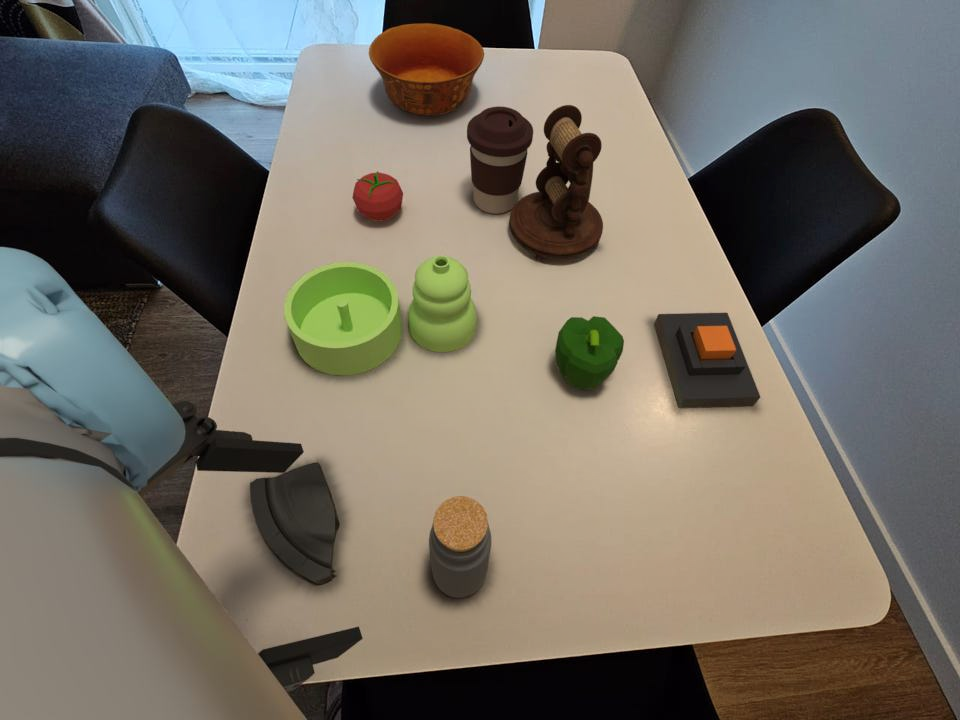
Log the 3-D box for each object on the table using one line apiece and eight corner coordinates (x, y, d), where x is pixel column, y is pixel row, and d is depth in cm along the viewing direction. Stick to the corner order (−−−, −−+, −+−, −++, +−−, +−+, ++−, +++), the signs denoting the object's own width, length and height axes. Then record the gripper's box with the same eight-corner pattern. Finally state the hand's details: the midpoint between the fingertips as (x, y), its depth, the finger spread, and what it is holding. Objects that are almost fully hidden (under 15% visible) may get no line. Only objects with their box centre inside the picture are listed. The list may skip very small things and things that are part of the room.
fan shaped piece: (275, 604, 58) (270, 600, 57) (250, 488, 65) (246, 482, 64) (354, 571, 60) (351, 567, 59) (322, 462, 67) (319, 456, 66)
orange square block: (730, 359, 74) (736, 350, 72) (700, 360, 74) (706, 350, 72) (721, 335, 76) (727, 325, 75) (692, 335, 76) (697, 326, 74)
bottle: (426, 551, 62) (418, 500, 50) (477, 535, 63) (482, 481, 51) (440, 606, 59) (436, 566, 47) (494, 588, 60) (504, 544, 48)
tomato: (348, 223, 91) (340, 184, 85) (366, 193, 96) (360, 154, 89) (395, 234, 90) (390, 195, 84) (411, 203, 95) (408, 164, 88)
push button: (753, 405, 74) (767, 389, 71) (678, 408, 74) (689, 391, 70) (721, 322, 82) (732, 304, 79) (653, 323, 82) (662, 305, 78)
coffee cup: (453, 204, 95) (453, 121, 82) (487, 174, 100) (492, 92, 87) (503, 228, 92) (510, 147, 80) (535, 196, 97) (547, 115, 84)
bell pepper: (563, 338, 79) (576, 290, 71) (619, 361, 77) (638, 315, 69) (539, 382, 75) (549, 336, 67) (597, 408, 73) (615, 364, 65)
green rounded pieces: (291, 379, 74) (265, 318, 64) (298, 295, 82) (276, 229, 72) (482, 365, 76) (486, 303, 66) (470, 284, 85) (472, 219, 74)
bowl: (492, 81, 117) (495, 30, 109) (467, 140, 105) (468, 88, 97) (395, 65, 119) (390, 14, 111) (359, 122, 107) (352, 69, 99)
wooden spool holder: (615, 255, 89) (650, 142, 73) (527, 274, 86) (543, 160, 70) (577, 196, 97) (602, 82, 81) (496, 211, 94) (504, 96, 78)
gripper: (-120, 392, 30) (250, 426, 47) (-212, 1022, 18) (340, 765, 34) (-80, 296, 27) (300, 368, 44) (-156, 969, 15) (419, 716, 31)
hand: (318, 542), depth 39 cm, fingers open, 13 cm apart
